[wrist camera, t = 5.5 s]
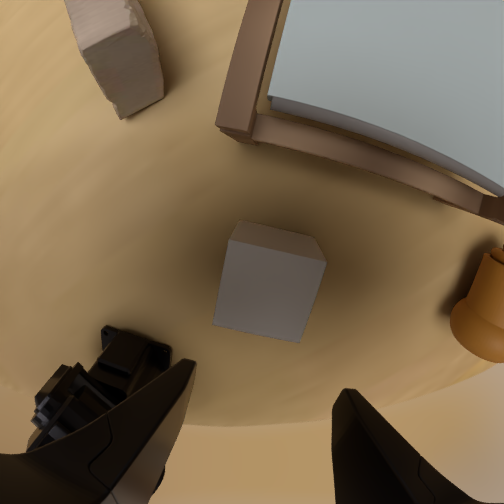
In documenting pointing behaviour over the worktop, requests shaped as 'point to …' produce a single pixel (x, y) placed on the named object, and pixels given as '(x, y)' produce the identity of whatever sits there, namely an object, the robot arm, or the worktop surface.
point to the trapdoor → (401, 77)
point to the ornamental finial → (483, 311)
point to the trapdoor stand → (315, 139)
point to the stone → (269, 281)
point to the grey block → (118, 51)
